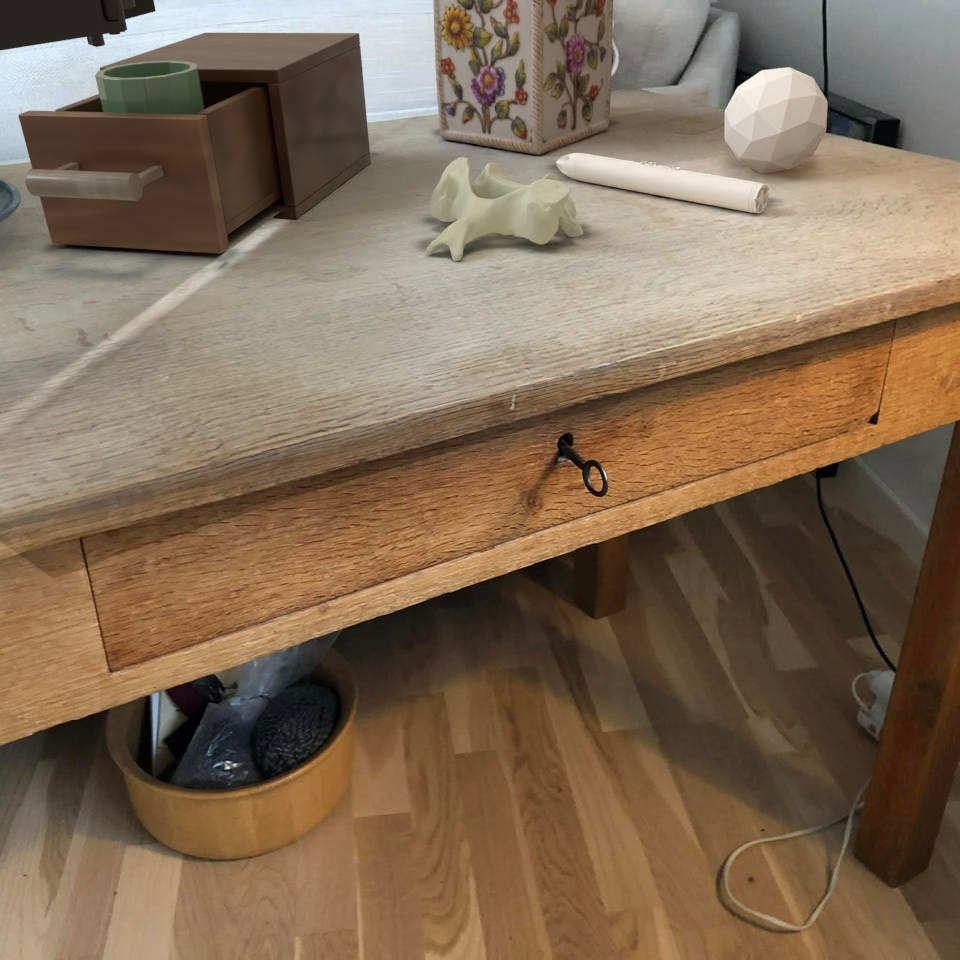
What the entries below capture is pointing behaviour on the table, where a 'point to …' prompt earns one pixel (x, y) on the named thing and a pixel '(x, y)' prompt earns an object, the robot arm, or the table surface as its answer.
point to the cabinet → (293, 101)
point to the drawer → (155, 171)
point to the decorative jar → (523, 71)
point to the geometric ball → (776, 120)
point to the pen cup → (151, 88)
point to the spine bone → (499, 207)
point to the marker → (666, 181)
